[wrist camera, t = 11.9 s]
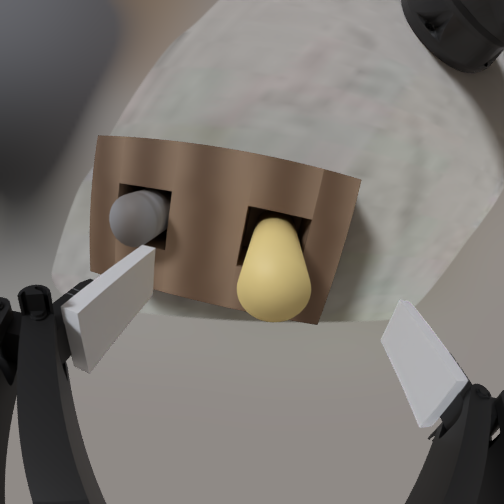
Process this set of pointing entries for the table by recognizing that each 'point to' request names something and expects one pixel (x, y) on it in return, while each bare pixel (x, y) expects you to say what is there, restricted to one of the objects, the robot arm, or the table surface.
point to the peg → (274, 271)
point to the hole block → (212, 214)
